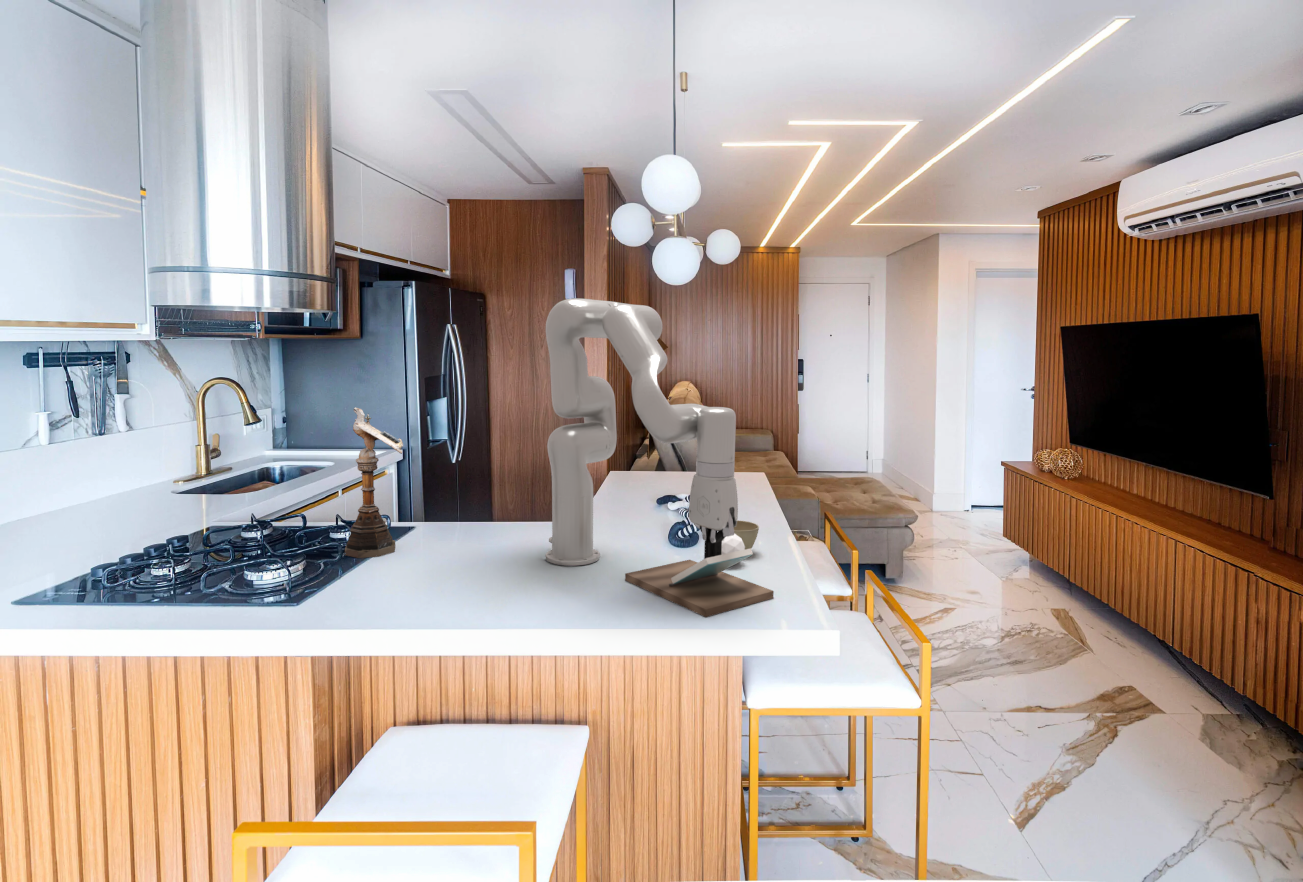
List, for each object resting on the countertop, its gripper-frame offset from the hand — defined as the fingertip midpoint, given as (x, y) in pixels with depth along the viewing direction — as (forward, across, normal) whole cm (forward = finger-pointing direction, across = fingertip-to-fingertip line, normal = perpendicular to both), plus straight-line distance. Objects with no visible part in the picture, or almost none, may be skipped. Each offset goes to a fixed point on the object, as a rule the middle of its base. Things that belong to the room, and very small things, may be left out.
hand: (712, 559), depth 145 cm
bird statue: (+8, -71, -44) cm, 84 cm away
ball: (+8, -14, +17) cm, 23 cm away
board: (+7, -5, 0) cm, 9 cm away
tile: (+1, -1, 0) cm, 1 cm away
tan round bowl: (+8, -19, +25) cm, 32 cm away
